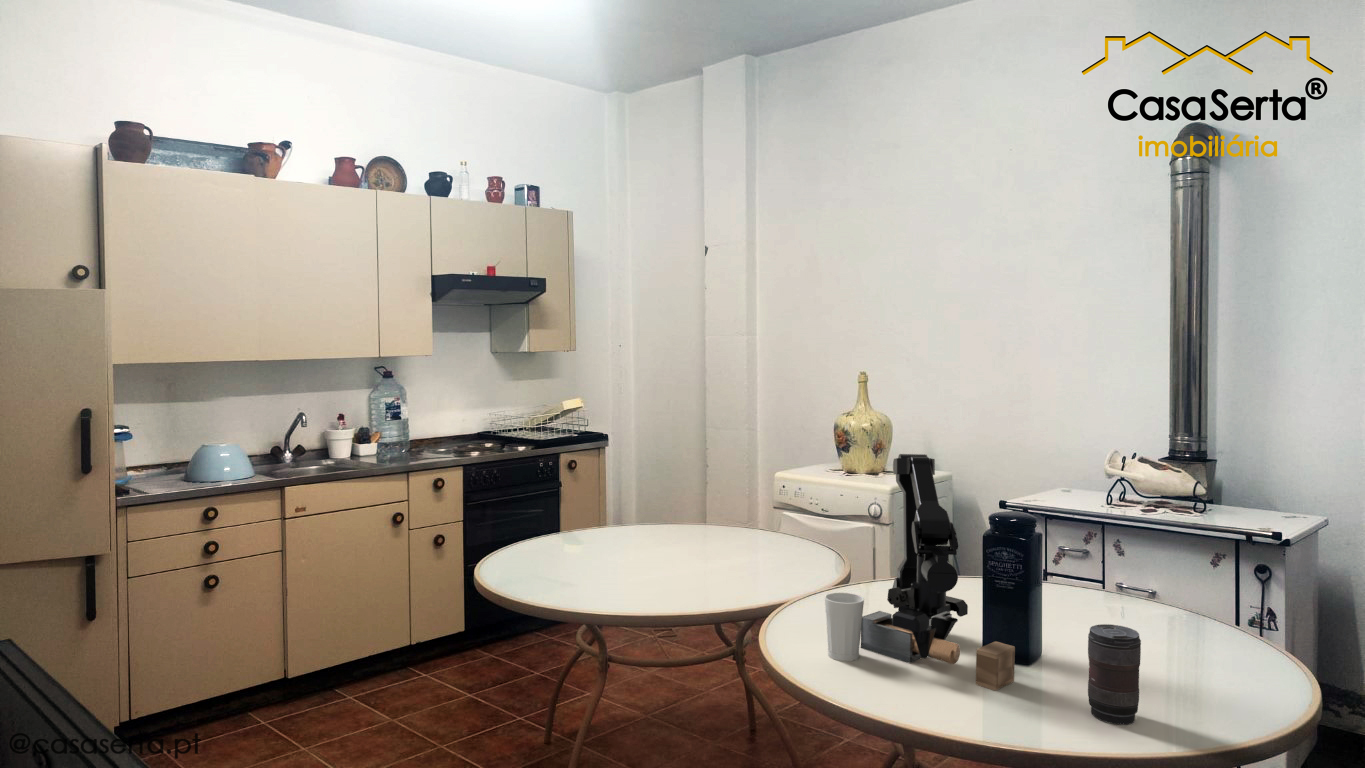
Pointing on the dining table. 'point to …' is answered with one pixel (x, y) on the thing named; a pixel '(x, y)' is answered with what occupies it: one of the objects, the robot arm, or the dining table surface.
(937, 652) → the tube
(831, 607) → the cup
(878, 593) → the dining table surface
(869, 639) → the grey channel holder
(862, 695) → the dining table surface
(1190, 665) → the dining table surface
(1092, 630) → the camera lens
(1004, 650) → the socket
